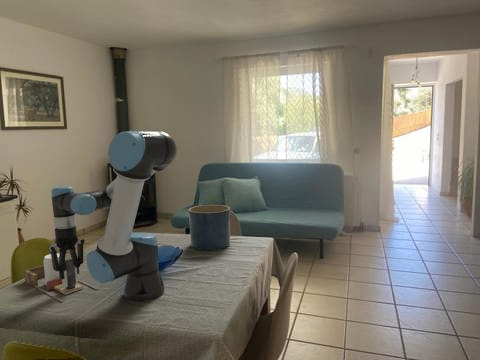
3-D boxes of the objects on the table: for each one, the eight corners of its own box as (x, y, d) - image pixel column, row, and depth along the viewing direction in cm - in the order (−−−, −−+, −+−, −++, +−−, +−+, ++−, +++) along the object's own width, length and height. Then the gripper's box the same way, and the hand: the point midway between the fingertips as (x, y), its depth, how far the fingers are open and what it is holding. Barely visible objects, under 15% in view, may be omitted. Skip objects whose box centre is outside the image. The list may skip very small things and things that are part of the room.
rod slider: (87, 286, 147) (85, 257, 145) (59, 296, 138) (57, 266, 137) (74, 280, 153) (72, 253, 152) (47, 289, 145) (44, 260, 143)
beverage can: (58, 288, 147) (56, 259, 145) (41, 286, 149) (38, 258, 147) (71, 280, 155) (69, 252, 153) (54, 279, 156) (52, 251, 155)
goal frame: (70, 276, 159) (69, 265, 159) (35, 287, 148) (33, 275, 148) (59, 271, 166) (58, 260, 165) (24, 281, 155) (23, 270, 154)
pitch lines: (98, 289, 145) (98, 288, 145) (61, 302, 134) (61, 301, 134) (70, 276, 159) (70, 275, 159) (35, 287, 148) (34, 286, 148)
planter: (186, 251, 190) (185, 213, 187) (193, 239, 212) (192, 205, 209) (229, 250, 189) (228, 212, 186) (232, 238, 211) (231, 204, 208)
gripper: (81, 220, 150) (85, 275, 153) (38, 229, 137) (44, 289, 140) (90, 223, 145) (94, 279, 148) (47, 232, 132) (53, 294, 135)
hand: (70, 284), depth 144 cm, fingers closed on rod slider, 3 cm apart
